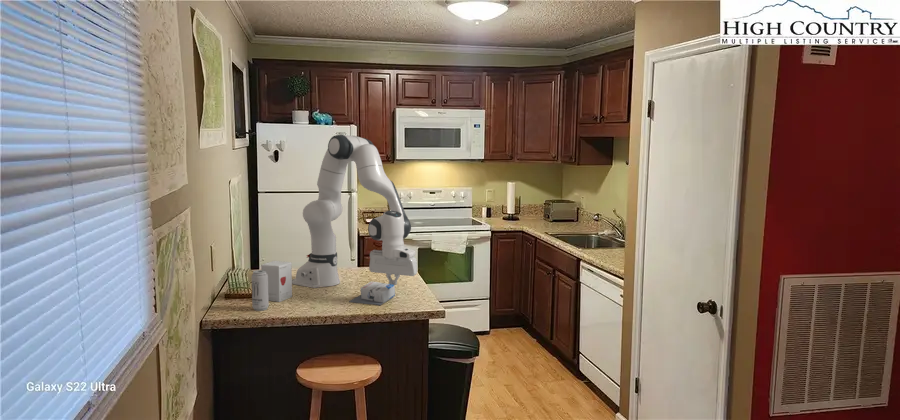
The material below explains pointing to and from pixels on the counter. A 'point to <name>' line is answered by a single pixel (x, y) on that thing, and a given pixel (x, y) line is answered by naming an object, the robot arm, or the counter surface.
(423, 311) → the counter surface
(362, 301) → the mat
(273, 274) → the supplement box
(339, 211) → the robot arm
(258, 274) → the energy drink can
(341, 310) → the counter surface
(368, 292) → the ink box
